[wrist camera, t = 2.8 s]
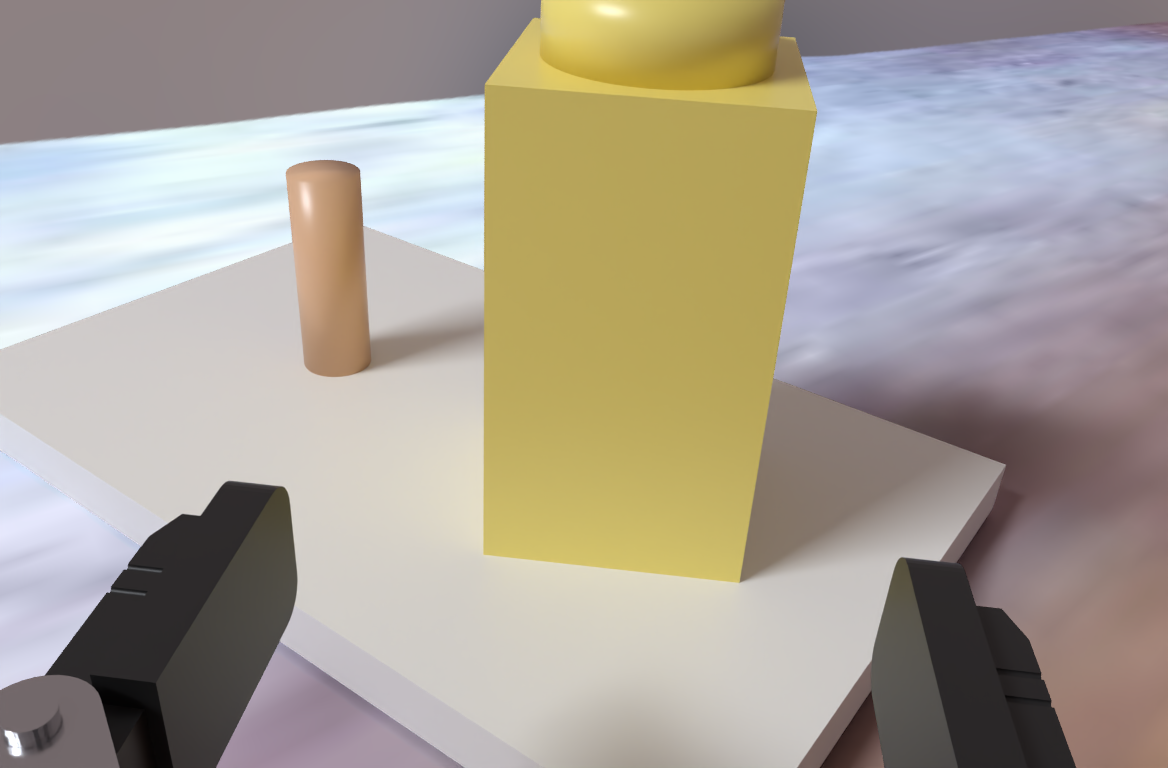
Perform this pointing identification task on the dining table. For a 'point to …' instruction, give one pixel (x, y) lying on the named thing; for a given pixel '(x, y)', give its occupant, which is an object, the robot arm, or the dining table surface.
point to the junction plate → (479, 510)
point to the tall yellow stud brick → (637, 278)
